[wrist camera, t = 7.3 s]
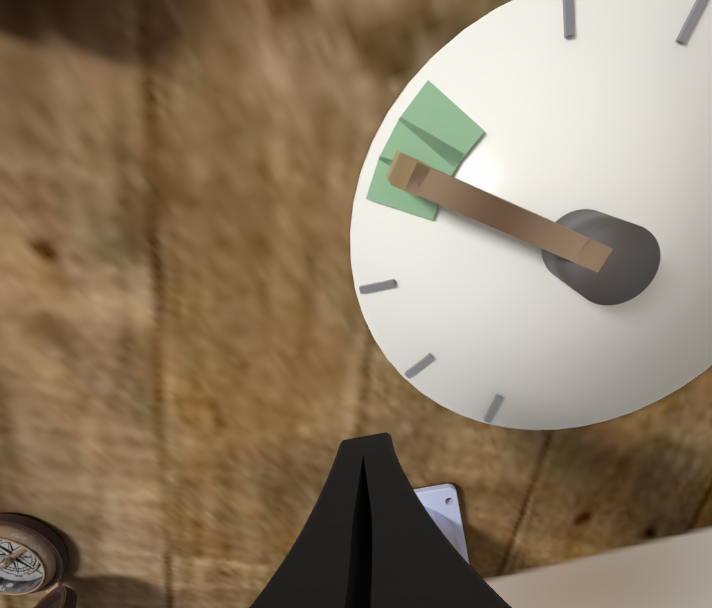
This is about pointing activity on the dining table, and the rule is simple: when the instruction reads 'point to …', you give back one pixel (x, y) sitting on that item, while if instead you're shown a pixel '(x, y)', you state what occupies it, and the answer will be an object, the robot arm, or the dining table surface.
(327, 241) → the dining table surface
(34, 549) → the compass
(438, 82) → the gauge dial
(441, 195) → the tuning pointer
